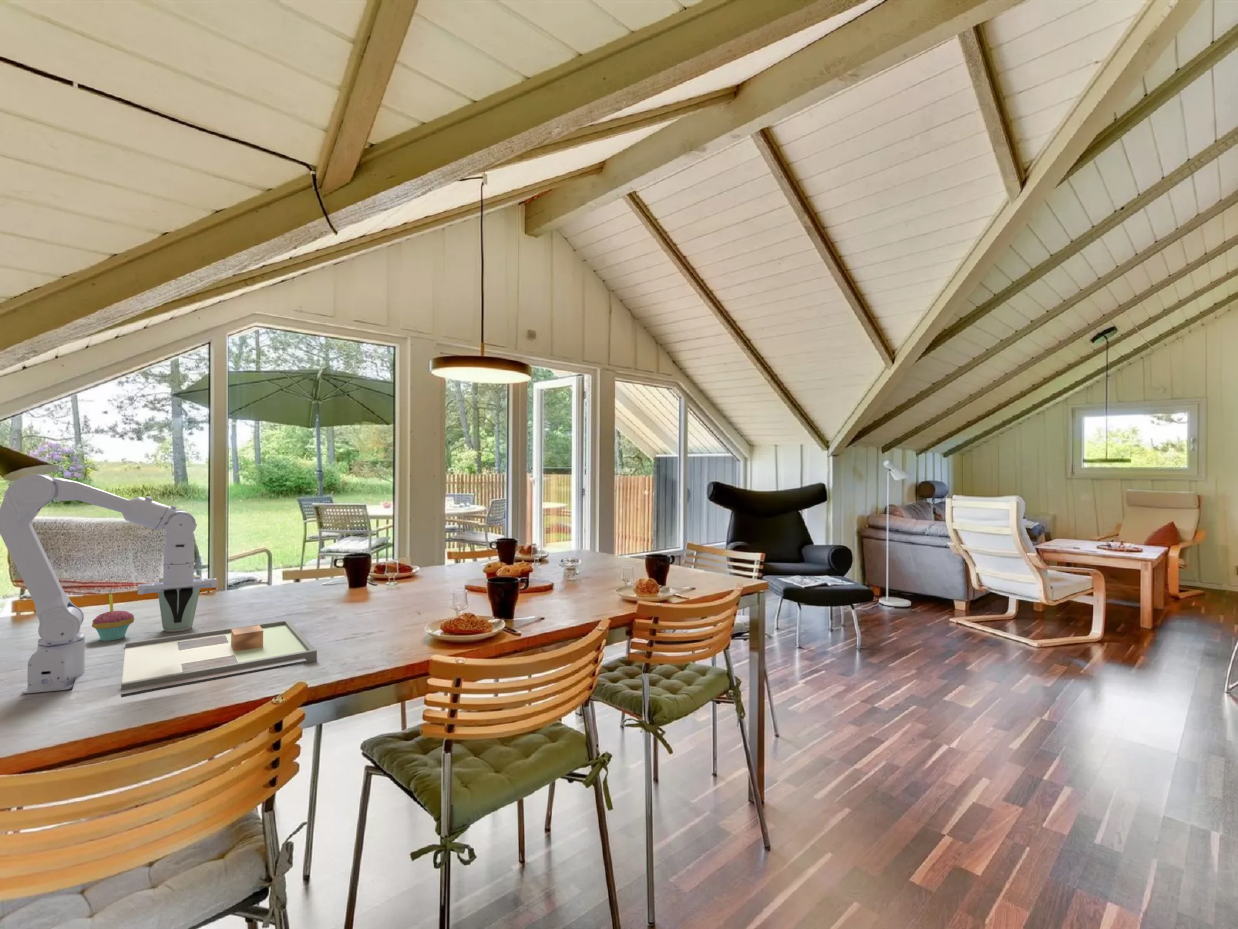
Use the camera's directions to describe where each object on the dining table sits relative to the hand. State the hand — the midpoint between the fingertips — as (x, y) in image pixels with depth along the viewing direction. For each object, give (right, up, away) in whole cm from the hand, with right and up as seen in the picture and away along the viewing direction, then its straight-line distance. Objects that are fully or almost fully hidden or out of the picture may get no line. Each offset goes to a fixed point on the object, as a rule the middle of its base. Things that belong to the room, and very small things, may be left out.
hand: (177, 621), depth 136 cm
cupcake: (-31, -10, +19) cm, 38 cm away
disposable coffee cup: (-21, -10, +28) cm, 36 cm away
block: (+11, -8, +9) cm, 16 cm away
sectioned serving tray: (+6, -10, +5) cm, 12 cm away
